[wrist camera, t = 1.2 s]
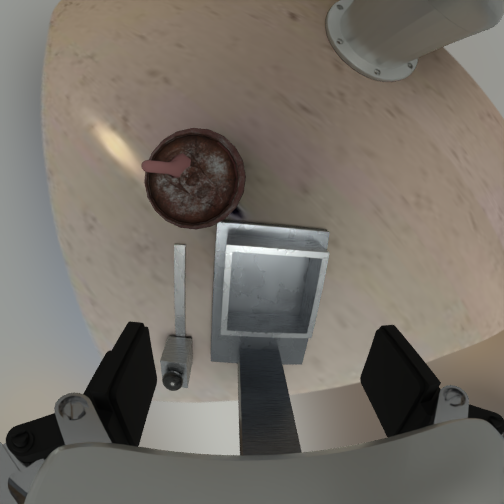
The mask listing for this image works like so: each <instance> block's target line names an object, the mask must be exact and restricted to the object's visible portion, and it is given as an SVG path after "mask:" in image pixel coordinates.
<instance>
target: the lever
mask: <svg viewBox="0 0 504 504" xmlns="http://www.w3.org/2000/svg"><path fill="white" fill-rule="evenodd" d="M160 362H161V371H162V381H163V385H164V386H165V387H166V388H167V389H169V390H172V391H175V390H178V389H180V388H181V387H184V388H188V383H189V378H190V372H191V367H192V339H191V338H181V337H172V336H169V337H168V339H167V342H166V345H165V348H164V351H163V354H162V357H161V360H160Z"/></svg>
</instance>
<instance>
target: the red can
mask: <svg viewBox="0 0 504 504" xmlns="http://www.w3.org/2000/svg"><path fill="white" fill-rule="evenodd" d="M142 169H143V170H144V171H146V172H145V187H146V192H147V197H148V199H149V201H150V202H151V204H152V206H153V208H154V209H155V211H156V212H157V213H158V214H159V215H160V216H162V217H163V218H164V219H165V220H166V221H167V222H170V223H172V224H174V225H176V226H178V227H180V228H189V229H200V228H206V227H211V226H213V225H215V224H217V223H218V222H220V221H222V220H224V219H225V218H226V217H227V216H228V215H229V214H230V213H231V212H232V211H233V210H234V209H235V208H236V207H237V205H238V203H239V201H240V199H241V197H242V195H243V192H244V185H245V178H246V176H245V170H244V165H243V160H242V159H241V157H240V155H239V153H238V151H237V149H236V148H235V146H234V145H233V144H231V143H230V142H229V141H228V140H227V139H226V138H225V137H224V136H222V135H220V134H218V133H215V132H213V131H211V130H208V129H198V128H190V129H186V130H182V131H178V132H175V133H174V134H172V135H170V136H169V137H167V138H165V139H164V140H163V141H162V142H161V143H160V144H159V145H158V146H157V147H156V149H155V150H154V151H153V152H152V154H151V157H150V159H149V160H147V161H144V162H143V163H142Z"/></svg>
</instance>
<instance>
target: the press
mask: <svg viewBox="0 0 504 504" xmlns="http://www.w3.org/2000/svg"><path fill="white" fill-rule="evenodd" d="M329 233H330V232H329V231H327V230H324V229H315V228H305V227H294V226H284V225H273V224H262V223H250V222H238V221H225V220H222V221H220V222H218V223H217V234H216V250H215V267H214V287H213V309H212V337H211V361H214V362H228V363H238V403H239V438H240V456H246V455H278V454H292V453H302V452H301V448H300V444H299V439H298V434H297V429H296V425H295V420H294V415H293V411H292V406H291V402H290V398H289V393H288V388H287V384H286V379H285V375H284V370H283V366H282V364H302V362H303V358H304V354H305V350H306V346H307V342H308V338H311V337H312V333H313V329H314V325H315V321H316V316H317V312H318V307H319V303H320V298H321V293H322V289H323V284H324V279H325V274H326V269H327V263H328V258H329V252H328V251H327V245H328V239H329ZM185 253H186V245H185V244H175V245H174V297H175V329H176V337H181V338H186V334H185Z"/></svg>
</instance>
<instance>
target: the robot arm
mask: <svg viewBox="0 0 504 504" xmlns="http://www.w3.org/2000/svg"><path fill="white" fill-rule="evenodd" d="M503 13H504V0H339V1H338V2H336V3H335V4H334V5H333V6H332V7H331V9H330V10H329V12H328V13H327V17H326V23H325V28H326V32H327V36H328V38H329V41H330V43H331V45H332V46H333V48H334V50H335V51H336V53H337V54H338V55H339V56H340V57H341V58H342V60H344V61H345V62H346V63H347V64H348V65H349V66H350V67H352V68H353V69H354V70H356V71H357V72H359V73H361V74H362V75H364V76H366V77H368V78H371V79H374V80H377V81H382V82H395V81H399V80H401V79H404V78H406V77H408V76H409V75H410V74H412V72H413V71H414V70H415V68H416V65H417V63H418V58H419V57H421V56H423V55H425V54H428V53H430V52H432V51H434V50H437V49H439V48H441V47H444V46H446V45H448V44H451V43H453V42H456V41H458V40H461V39H464V38H466V37H469V36H472V35H474V34H477V33H480V32H482V31H485V30H488V29H490V28H492V27H494V26H495V25H496V24H498V22H499V21H500V20H501V18H502V16H503ZM338 43H339V44H338ZM360 379H361V384H362V386H363V388H364V390H365V392H366V394H367V396H368V398H369V400H370V402H371V404H372V406H373V408H374V410H375V412H376V414H377V417H378V419H379V420H380V423H381V425H382V427H383V429H384V431H385V433H386V435H387V437H388V438H384V439H380V440H375V441H371V442H367V443H362V444H357V445H352V446H346V447H340V448H334V449H328V450H320V451H312V452H303V453H292V454H278V455H246V456H240V455H239V456H237V455H209V454H194V453H184V452H174V451H165V450H157V449H151V448H144V447H138V446H139V442H140V439H141V436H142V432H143V428H144V425H145V421H146V418H147V414H148V411H149V407H150V404H151V401H152V397H153V394H154V391H155V387H156V384H157V375H156V370H155V365H154V359H153V354H152V348H151V342H150V335H149V329H148V327H144V324H143V323H139V322H128V324H127V325H126V327H125V329H124V330H123V332H122V334H121V335H120V337H119V339H118V341H117V342H116V344H115V346H114V347H113V349H112V351H108V352H107V353H106V354H105V356H104V358H103V360H102V361H101V363H100V365H99V367H98V368H97V370H96V372H95V374H94V375H93V377H92V380H91V381H90V383H89V385H88V387H87V388H86V390H85V392H84V394H80V393H69V394H66V395H64V396H62V397H61V398H60V399H58V401H57V402H56V404H55V408H54V409H55V413H54V414H51V415H48V416H45V417H42V418H39V419H36V420H33V421H30V422H27V423H24V424H20V425H17V426H15V427H13V428H12V429H11V430H10V431H9V432H8V434H7V437H6V443H5V444H4V445H3V444H2V443H1V442H0V504H504V419H503V418H502V417H501V416H500V415H499V414H497V413H495V412H491V411H488V410H485V409H481V408H479V407H476V406H472V405H469V398H468V396H467V394H466V392H465V391H463V390H462V389H461V388H459V387H457V386H452V385H450V386H445V387H443V388H442V389H440V388H439V385H440V383H441V382H440V381H439V380H438V378H437V377H436V376H435V375H434V373H433V372H432V371H431V369H430V368H429V367H428V366H427V364H426V363H425V362H424V361H423V359H422V358H421V357H420V356H419V354H418V353H417V352H416V351H415V349H414V348H413V347H412V346H411V345H410V343H409V342H408V341H407V340H406V339H405V337H404V336H403V335H402V334H401V333H400V331H399V330H398V329H397V328H396V327H395V326H394V325H385V326H381V327H380V328H379V329H378V330H377V331H376V333H375V336H374V339H373V342H372V346H371V349H370V352H369V354H368V357H367V360H366V363H365V366H364V369H363V371H362V374H361V378H360Z"/></svg>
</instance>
